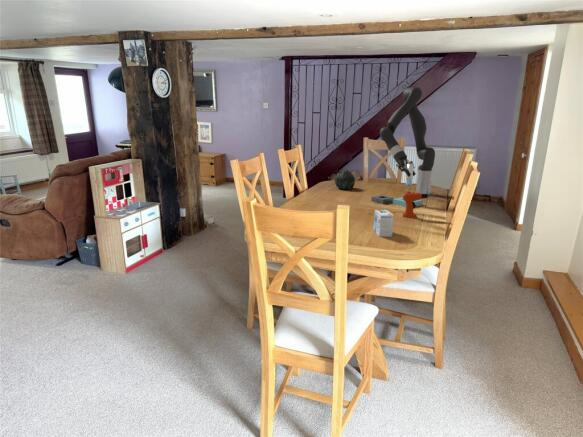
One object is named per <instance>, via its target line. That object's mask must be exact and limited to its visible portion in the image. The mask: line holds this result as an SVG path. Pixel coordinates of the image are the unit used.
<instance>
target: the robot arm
mask: <svg viewBox="0 0 583 437" xmlns="http://www.w3.org/2000/svg"><path fill="white" fill-rule="evenodd" d="M422 96H423V92H422V88H420V87H415V86H413V87H406V88H405V89H404V90H403V92H402V97H403V102H404V103H403V104H402V105H401V106H400V107H399V108H398V109H397V110H395V111H394V112H393V114H391V117H389V119H388V121H387V124H386V126H383V127H382V128H380V130H379V135H380V138H381V140H382V141H383V142H384V144H385V145H386V148H387V149H388V151H389V153H390V154H391V156H392V158H393V159H394V161H395V162H396V168H398V169H399V170H400V171H401V172H404V173H405V174H407V176H408V177H409V176H411V174H410V172H409V171H408V169H407V164H409V163H410V164H414V162H413V160H409V159H408V155H407V154H406V152H405V151H404V149H403V148H402V146H401V145H400V144H399V142H398V141H397V139H396V138H395V136H394V134H395V132H396V131H397V128H398V126H399V125H400V124H401V122H402V121H403V119H404V118H405V116H407V114H408V117H409V121H410V125H411V129H412V133H413V136H414V141H415V142H414V143H415V148H416V149H415V150H416V155H417V158H418V159H419V160H422V164H420V165H418V168H417V173H416V171H415V170H414V169H415V166H414V168H413V177H415V175H416V174H417V178H416V187H415V188H416V189H415V193H416V192H418V193H421V194H427V195H431V188H432V172H433V167H434V163H435V157H436V151H435V149H434V148H433V147H430V146H427V145H426V140H425V137H426V134H427V124H426V123H427V122H426V118H425V117H424V115H423V114H422V112H421V111H420V110H419V108H418V105H417V103H418V102H419V101H420V100H421V98H422Z"/></svg>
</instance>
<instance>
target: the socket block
mask: <svg viewBox="0 0 583 437" xmlns="http://www.w3.org/2000/svg"><path fill="white" fill-rule="evenodd" d="M393 199H395V198H394V197H393V196H387V195H385V194H384V195H383V194H380V195H379V194H378V195H375V196H371V200H370V201H371V202H374V203H377V204H380V205H381V204H382V205H385V204H390V203H391V202H392V203H393ZM392 203H391V204H392Z"/></svg>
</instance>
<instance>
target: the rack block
mask: <svg viewBox="0 0 583 437" xmlns="http://www.w3.org/2000/svg"><path fill="white" fill-rule="evenodd" d="M423 202H424V200H423V199H420V200H417V201H414V203H415V205H416V207H419V206H420V207H421V206H423ZM392 204H393V205H396V204H397V206H400V205H401V207H404V206H405V208H406V202H405V201H404V200H403V196H402V197H398V198H394V199H393V202H392Z"/></svg>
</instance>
